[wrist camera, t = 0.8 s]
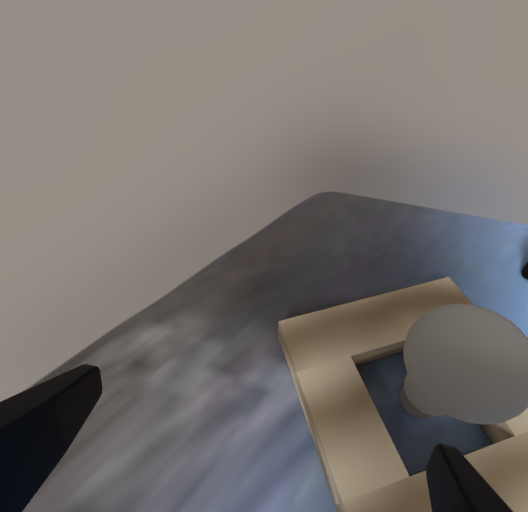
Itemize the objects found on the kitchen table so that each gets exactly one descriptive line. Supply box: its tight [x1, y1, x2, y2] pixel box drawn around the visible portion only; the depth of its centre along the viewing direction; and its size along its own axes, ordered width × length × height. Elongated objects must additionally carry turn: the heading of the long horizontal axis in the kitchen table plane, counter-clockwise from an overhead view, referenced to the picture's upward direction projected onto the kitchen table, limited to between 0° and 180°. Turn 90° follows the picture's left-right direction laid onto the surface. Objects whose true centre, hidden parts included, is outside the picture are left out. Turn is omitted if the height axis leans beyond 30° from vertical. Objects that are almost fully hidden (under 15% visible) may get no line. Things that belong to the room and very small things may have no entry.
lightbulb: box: [399, 304, 528, 424], centre depth 18 cm, size 6×6×11 cm
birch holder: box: [278, 277, 528, 512], centre depth 21 cm, size 16×16×2 cm
